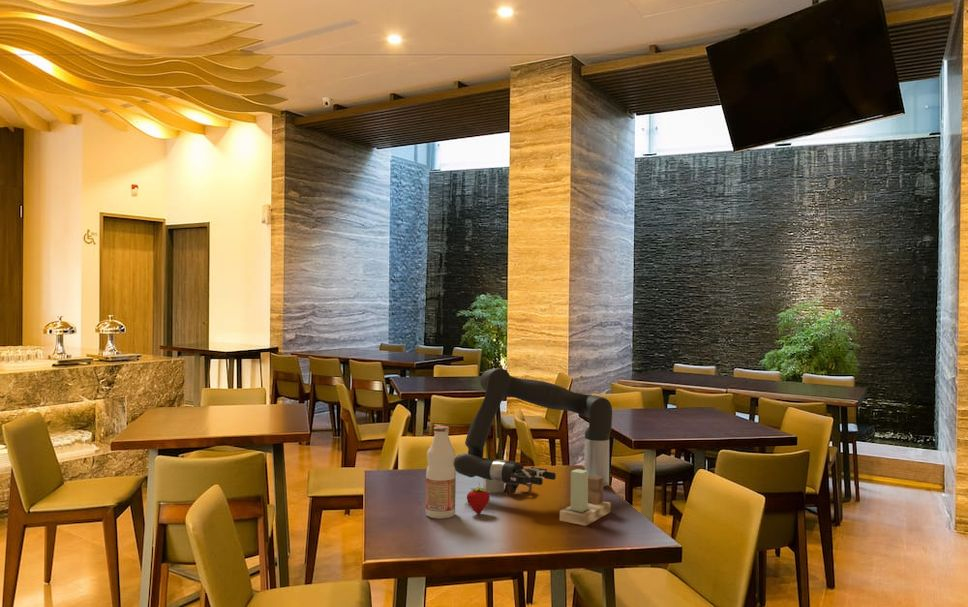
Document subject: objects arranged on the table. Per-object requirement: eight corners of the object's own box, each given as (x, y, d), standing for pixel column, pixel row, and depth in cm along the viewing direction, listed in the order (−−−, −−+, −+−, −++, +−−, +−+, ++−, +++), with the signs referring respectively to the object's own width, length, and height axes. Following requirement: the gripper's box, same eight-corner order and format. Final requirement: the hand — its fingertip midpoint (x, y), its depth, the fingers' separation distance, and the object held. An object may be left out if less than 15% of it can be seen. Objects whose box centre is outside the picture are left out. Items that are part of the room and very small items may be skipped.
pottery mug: (506, 489, 252) (517, 470, 253) (527, 504, 248) (538, 484, 249) (495, 489, 242) (507, 468, 242) (517, 504, 238) (529, 483, 238)
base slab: (585, 507, 229) (585, 474, 229) (610, 512, 223) (610, 478, 224) (559, 520, 214) (559, 485, 214) (585, 525, 209) (586, 489, 209)
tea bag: (503, 492, 247) (504, 464, 247) (485, 493, 245) (486, 465, 245) (501, 489, 251) (501, 462, 251) (483, 490, 249) (483, 463, 249)
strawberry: (464, 512, 222) (464, 481, 222) (486, 510, 224) (487, 479, 224) (469, 517, 216) (469, 485, 216) (491, 515, 218) (492, 484, 218)
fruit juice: (433, 521, 212) (434, 430, 213) (421, 513, 220) (421, 425, 221) (460, 516, 217) (461, 428, 217) (447, 509, 225) (448, 423, 225)
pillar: (576, 506, 218) (576, 469, 218) (587, 509, 215) (588, 470, 216) (570, 509, 214) (570, 471, 215) (581, 512, 212) (582, 473, 212)
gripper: (495, 464, 225) (537, 471, 216) (517, 457, 237) (559, 463, 227) (494, 487, 225) (537, 495, 216) (517, 479, 237) (559, 486, 227)
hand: (548, 478), depth 221 cm, fingers open, 8 cm apart
